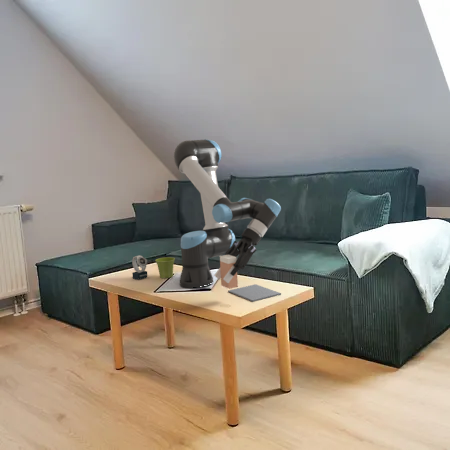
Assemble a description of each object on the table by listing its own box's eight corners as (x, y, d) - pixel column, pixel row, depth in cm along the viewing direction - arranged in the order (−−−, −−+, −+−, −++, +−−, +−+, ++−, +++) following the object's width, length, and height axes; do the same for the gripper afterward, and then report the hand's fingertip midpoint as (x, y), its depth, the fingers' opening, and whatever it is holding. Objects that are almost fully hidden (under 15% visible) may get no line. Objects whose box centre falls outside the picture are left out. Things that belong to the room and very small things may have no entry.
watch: (141, 280, 238) (139, 258, 237) (130, 278, 244) (128, 256, 242) (150, 277, 242) (148, 255, 241) (139, 275, 248) (137, 254, 246)
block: (221, 285, 200) (219, 256, 198) (229, 283, 202) (228, 254, 200) (229, 288, 195) (227, 258, 193) (237, 286, 197) (236, 257, 195)
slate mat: (228, 291, 211) (228, 290, 211) (255, 285, 218) (255, 284, 218) (252, 301, 196) (252, 300, 196) (281, 294, 203) (281, 293, 203)
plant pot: (152, 277, 243) (151, 260, 241) (168, 273, 249) (166, 256, 248) (164, 280, 236) (163, 262, 235) (180, 276, 243) (178, 258, 241)
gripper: (273, 241, 196) (240, 290, 190) (246, 235, 212) (215, 279, 206) (262, 230, 192) (227, 279, 187) (235, 224, 208) (203, 269, 203)
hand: (221, 279), depth 197 cm, fingers closed on block, 6 cm apart
